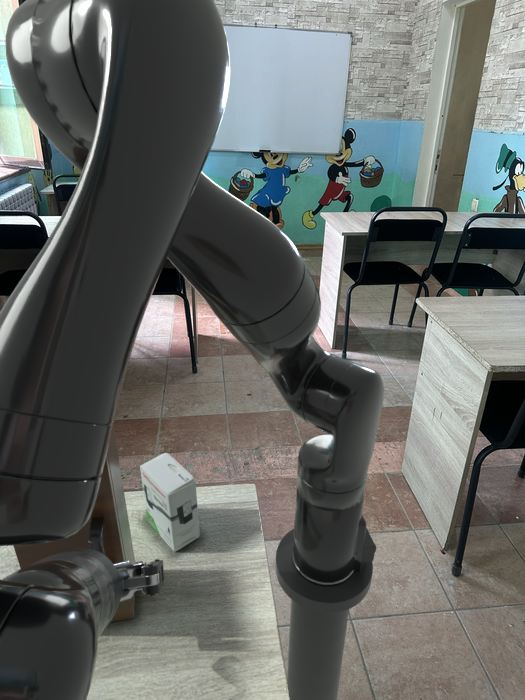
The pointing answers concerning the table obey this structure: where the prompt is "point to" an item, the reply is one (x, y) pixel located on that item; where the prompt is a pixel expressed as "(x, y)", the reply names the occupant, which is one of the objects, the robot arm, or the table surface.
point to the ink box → (170, 501)
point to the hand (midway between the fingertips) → (100, 577)
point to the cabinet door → (89, 538)
